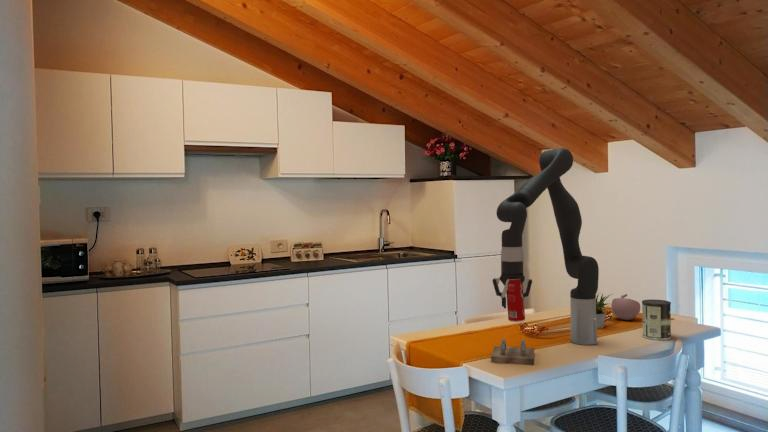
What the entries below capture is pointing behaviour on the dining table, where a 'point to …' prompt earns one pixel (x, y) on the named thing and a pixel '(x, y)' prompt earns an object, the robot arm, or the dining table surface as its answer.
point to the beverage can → (515, 301)
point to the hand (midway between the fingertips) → (512, 308)
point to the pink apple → (625, 308)
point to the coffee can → (656, 319)
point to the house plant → (600, 311)
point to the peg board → (513, 354)
